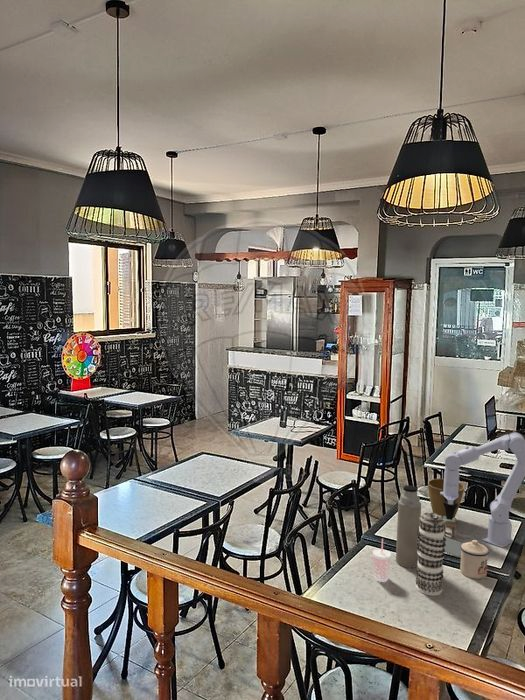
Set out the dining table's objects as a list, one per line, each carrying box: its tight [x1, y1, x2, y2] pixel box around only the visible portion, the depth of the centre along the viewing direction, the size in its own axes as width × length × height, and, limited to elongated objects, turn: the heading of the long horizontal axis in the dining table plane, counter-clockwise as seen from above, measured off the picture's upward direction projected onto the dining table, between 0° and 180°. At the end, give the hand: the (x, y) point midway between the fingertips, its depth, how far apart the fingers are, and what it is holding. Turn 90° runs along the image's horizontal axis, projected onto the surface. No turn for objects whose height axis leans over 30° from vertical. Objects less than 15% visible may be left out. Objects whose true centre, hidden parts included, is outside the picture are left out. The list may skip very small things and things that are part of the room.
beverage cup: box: [372, 538, 392, 583], centre depth 181 cm, size 6×6×14 cm
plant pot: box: [427, 478, 465, 518], centre depth 232 cm, size 15×15×16 cm
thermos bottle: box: [395, 485, 422, 569], centre depth 193 cm, size 8×8×28 cm
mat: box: [443, 536, 464, 558], centre depth 207 cm, size 12×12×1 cm
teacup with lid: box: [459, 539, 490, 580], centre depth 188 cm, size 12×9×12 cm
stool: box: [443, 516, 457, 538], centre depth 218 cm, size 5×5×6 cm
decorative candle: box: [415, 511, 446, 596], centre depth 175 cm, size 9×9×25 cm
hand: (449, 515), depth 218 cm, fingers open, 7 cm apart
